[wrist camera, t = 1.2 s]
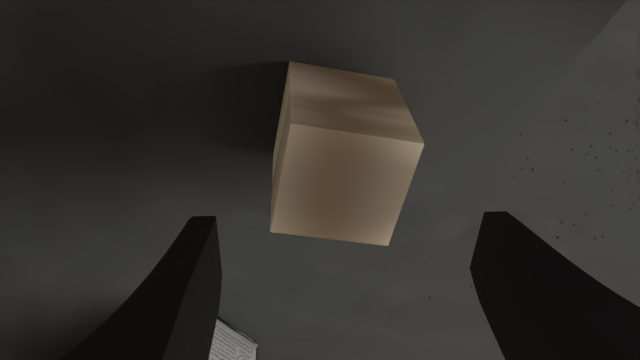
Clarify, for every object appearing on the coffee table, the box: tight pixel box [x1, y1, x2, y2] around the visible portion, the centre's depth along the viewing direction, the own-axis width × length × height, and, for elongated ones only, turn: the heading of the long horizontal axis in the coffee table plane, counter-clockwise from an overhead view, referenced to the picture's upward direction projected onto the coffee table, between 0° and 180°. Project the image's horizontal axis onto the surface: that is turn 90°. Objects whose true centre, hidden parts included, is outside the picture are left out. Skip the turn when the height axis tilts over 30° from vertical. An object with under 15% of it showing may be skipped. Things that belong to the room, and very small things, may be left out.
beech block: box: [270, 61, 424, 246], centre depth 18 cm, size 4×4×5 cm
